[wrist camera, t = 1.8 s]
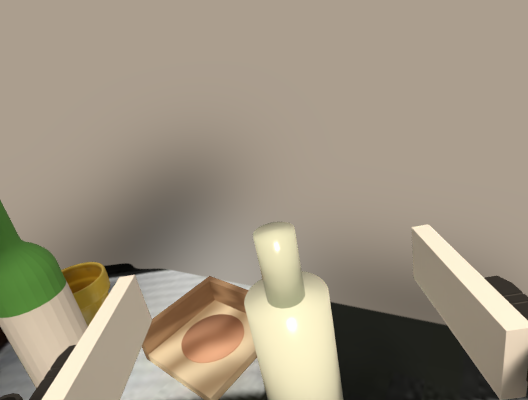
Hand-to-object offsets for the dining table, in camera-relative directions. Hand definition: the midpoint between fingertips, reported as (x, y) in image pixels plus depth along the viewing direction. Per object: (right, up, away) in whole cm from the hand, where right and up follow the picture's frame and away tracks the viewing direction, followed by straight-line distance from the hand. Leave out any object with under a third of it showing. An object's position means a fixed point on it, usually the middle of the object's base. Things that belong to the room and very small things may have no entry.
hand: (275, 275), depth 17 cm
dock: (-8, -17, +34) cm, 39 cm away
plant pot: (-29, -18, +43) cm, 55 cm away
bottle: (+4, -21, +19) cm, 29 cm away
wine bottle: (-25, -22, +31) cm, 45 cm away
